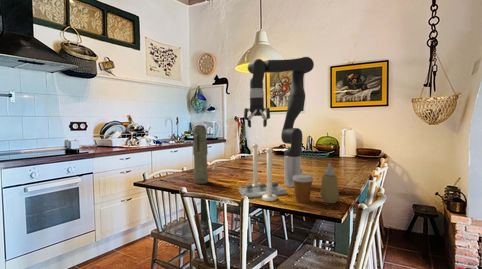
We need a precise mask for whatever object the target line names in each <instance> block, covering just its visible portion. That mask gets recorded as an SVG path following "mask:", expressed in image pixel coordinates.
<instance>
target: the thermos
mask: <svg viewBox="0 0 482 269" xmlns="http://www.w3.org/2000/svg"><path fill="white" fill-rule="evenodd" d="M208 151H209V150H208V144H207V129H206V126H205V125H201V124H200V125H195V126H194V127H193V145H192V155H193V167H194V169H193V183H194V184H196V185H204V184H208V183H209V171H208Z"/></svg>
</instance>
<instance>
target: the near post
mask: <svg viewBox="0 0 482 269" xmlns="http://www.w3.org/2000/svg"><path fill="white" fill-rule="evenodd" d="M265 153H266V185H267V194H265V195H263V196H262V197H261V200H263V201H264V202H275V201H277V200H278V195H274V194H272V183H273V148H272V147H267V148H266V149H265Z"/></svg>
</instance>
